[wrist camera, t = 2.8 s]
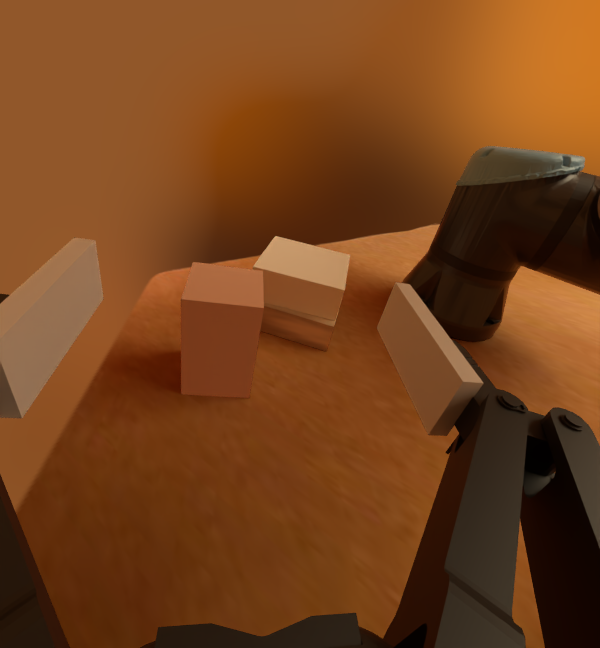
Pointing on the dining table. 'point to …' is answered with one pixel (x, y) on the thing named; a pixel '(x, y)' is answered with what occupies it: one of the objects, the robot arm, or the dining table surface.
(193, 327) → the tall block
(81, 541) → the dining table surface
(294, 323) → the tower base block
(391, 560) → the dining table surface
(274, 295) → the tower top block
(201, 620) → the dining table surface
